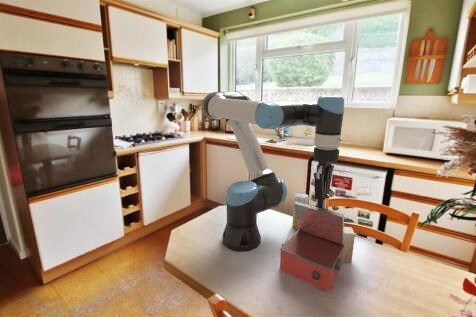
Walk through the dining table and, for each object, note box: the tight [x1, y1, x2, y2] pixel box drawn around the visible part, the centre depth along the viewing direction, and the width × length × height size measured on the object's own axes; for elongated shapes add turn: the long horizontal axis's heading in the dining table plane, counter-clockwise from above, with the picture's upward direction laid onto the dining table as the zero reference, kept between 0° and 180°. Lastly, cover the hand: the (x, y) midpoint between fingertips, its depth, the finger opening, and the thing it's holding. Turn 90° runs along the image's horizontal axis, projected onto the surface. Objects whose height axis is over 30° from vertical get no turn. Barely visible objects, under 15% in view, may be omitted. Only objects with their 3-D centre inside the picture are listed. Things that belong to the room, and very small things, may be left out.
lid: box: [293, 201, 345, 245], centre depth 83 cm, size 16×14×2 cm
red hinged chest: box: [279, 229, 344, 293], centre depth 82 cm, size 19×15×8 cm
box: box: [342, 226, 356, 264], centre depth 87 cm, size 5×4×11 cm
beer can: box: [292, 192, 310, 230], centre depth 107 cm, size 6×6×15 cm
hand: (320, 216), depth 83 cm, fingers closed
